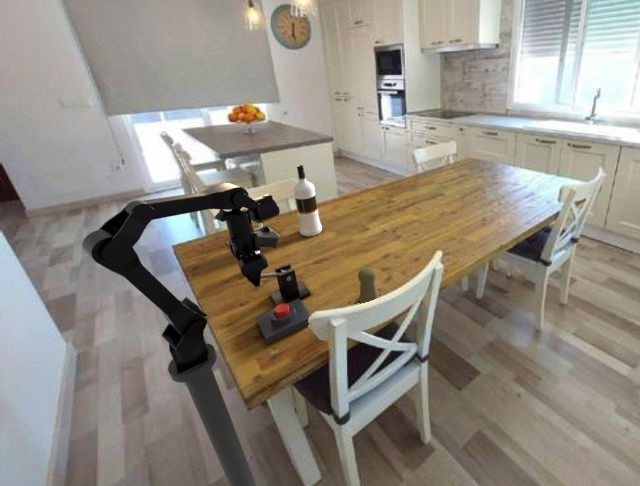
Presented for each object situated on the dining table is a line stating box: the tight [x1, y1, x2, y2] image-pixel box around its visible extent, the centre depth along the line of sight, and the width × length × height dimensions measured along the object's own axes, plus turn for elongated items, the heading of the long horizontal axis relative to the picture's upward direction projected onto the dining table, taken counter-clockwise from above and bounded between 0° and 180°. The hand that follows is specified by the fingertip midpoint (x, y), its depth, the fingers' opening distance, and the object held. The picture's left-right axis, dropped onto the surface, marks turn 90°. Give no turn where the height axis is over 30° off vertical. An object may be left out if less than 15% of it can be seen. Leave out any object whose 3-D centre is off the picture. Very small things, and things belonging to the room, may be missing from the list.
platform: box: [225, 221, 281, 246], centre depth 133 cm, size 12×18×7 cm, turn 136°
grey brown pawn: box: [357, 266, 380, 305], centre depth 95 cm, size 6×6×11 cm
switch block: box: [255, 299, 311, 345], centre depth 88 cm, size 12×10×4 cm
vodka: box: [292, 164, 323, 237], centre depth 133 cm, size 9×9×30 cm
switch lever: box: [247, 269, 290, 283], centre depth 94 cm, size 12×3×3 cm, turn 129°
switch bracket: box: [269, 263, 311, 307], centre depth 98 cm, size 10×8×10 cm
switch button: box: [274, 304, 290, 317], centre depth 87 cm, size 4×4×2 cm
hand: (253, 278), depth 91 cm, fingers open, 9 cm apart
